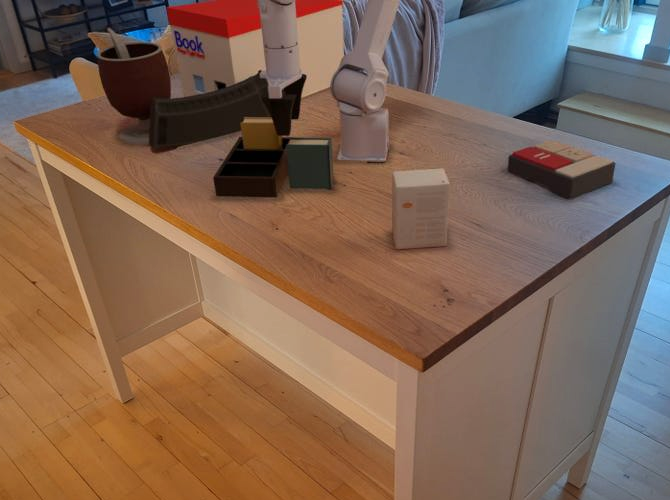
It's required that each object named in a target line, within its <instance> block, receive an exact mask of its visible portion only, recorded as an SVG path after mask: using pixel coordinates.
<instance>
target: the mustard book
mask: <svg viewBox="0 0 670 500" xmlns="http://www.w3.org/2000/svg"><path fill="white" fill-rule="evenodd" d="M240 124H241V131H240V132H241V137H242V138H243V146H244V149H283V142H282V137H283V136H278V135H277V132H276V129H275V126H274V123H273V120H272V118H271V117H244V121H243V122H241V123H240Z"/></svg>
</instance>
